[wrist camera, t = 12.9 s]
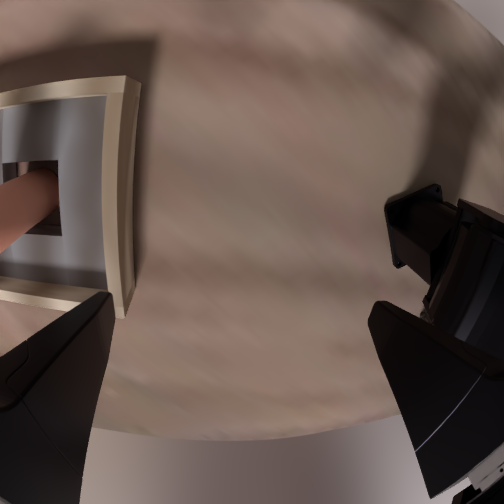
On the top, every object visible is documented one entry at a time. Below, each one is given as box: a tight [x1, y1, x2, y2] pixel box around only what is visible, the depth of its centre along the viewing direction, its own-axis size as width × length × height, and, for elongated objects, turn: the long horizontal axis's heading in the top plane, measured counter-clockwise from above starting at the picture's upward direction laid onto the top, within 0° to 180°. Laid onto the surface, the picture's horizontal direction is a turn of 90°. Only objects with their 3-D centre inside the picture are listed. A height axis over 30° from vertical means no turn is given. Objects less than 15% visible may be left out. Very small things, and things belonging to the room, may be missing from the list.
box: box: [0, 76, 142, 319], centre depth 16 cm, size 16×16×4 cm
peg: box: [0, 168, 60, 253], centre depth 13 cm, size 4×4×12 cm
